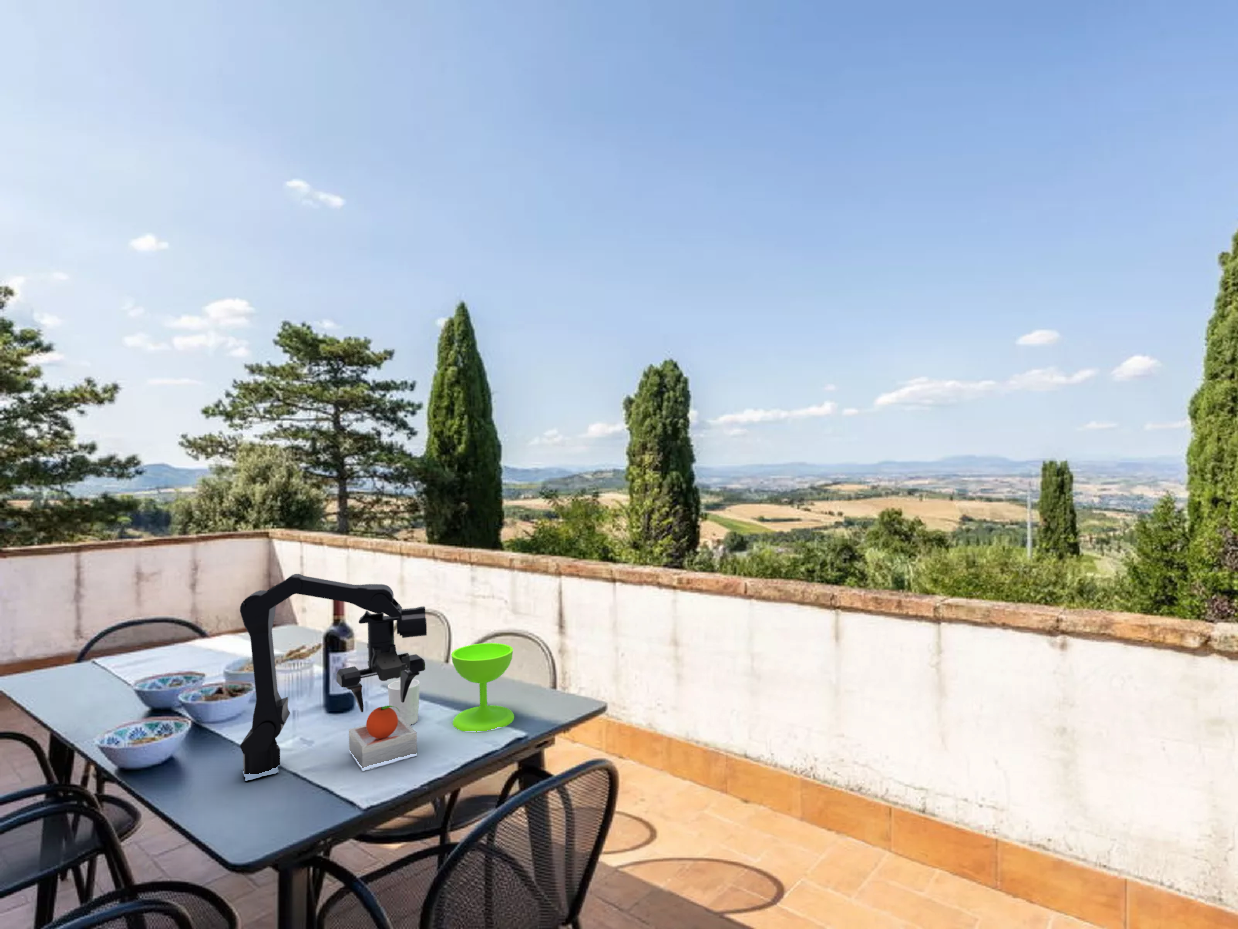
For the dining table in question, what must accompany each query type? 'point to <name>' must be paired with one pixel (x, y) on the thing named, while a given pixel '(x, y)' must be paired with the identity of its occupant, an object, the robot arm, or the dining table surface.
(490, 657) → the wineglass
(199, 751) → the dining table surface
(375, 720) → the clementine
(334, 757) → the dining table surface
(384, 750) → the tray
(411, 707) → the white cup
